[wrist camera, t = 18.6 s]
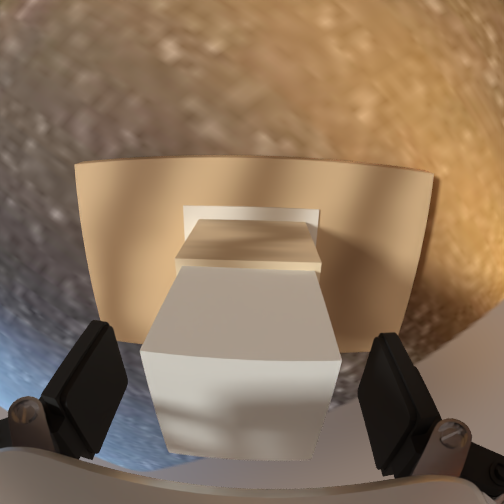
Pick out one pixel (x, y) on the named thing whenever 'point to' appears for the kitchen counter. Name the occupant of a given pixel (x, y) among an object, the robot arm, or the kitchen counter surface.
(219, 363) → the white cube
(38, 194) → the kitchen counter surface
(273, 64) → the kitchen counter surface
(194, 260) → the maple block
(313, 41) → the kitchen counter surface
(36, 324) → the kitchen counter surface
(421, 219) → the base board
